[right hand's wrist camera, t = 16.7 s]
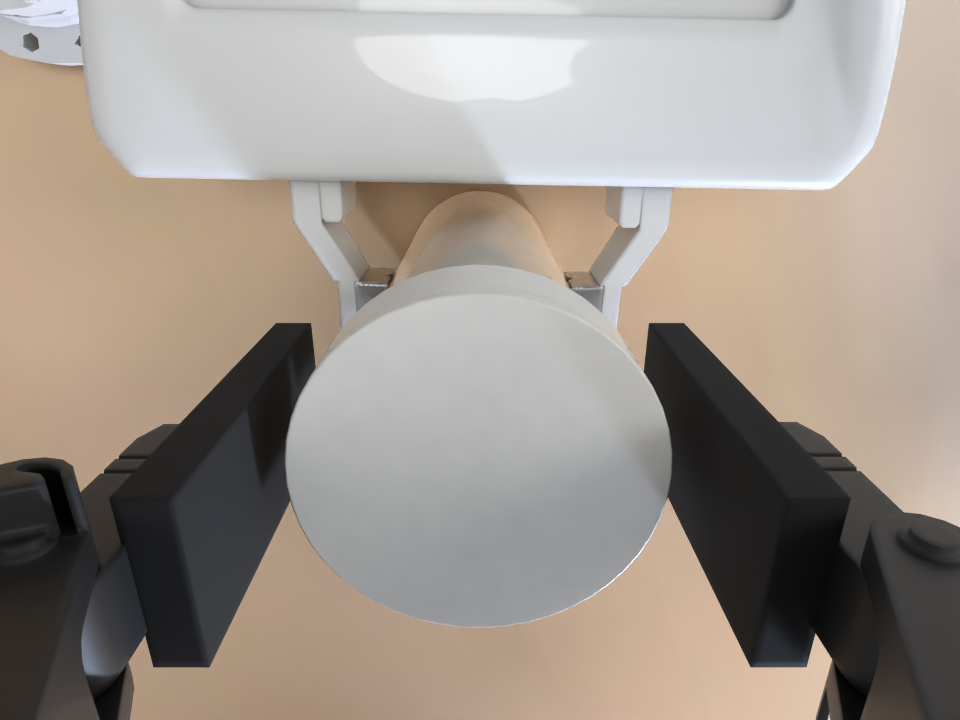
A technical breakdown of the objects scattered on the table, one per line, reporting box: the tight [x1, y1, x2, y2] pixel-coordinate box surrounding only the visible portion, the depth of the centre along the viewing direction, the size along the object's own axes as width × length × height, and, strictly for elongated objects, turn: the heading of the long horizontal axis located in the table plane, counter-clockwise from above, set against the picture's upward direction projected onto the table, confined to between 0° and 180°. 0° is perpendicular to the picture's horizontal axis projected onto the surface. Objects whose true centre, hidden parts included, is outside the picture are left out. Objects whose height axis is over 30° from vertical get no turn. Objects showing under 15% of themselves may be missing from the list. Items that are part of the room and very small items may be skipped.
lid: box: [285, 265, 672, 628], centre depth 11 cm, size 6×6×2 cm
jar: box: [388, 191, 571, 290], centre depth 18 cm, size 5×5×15 cm
